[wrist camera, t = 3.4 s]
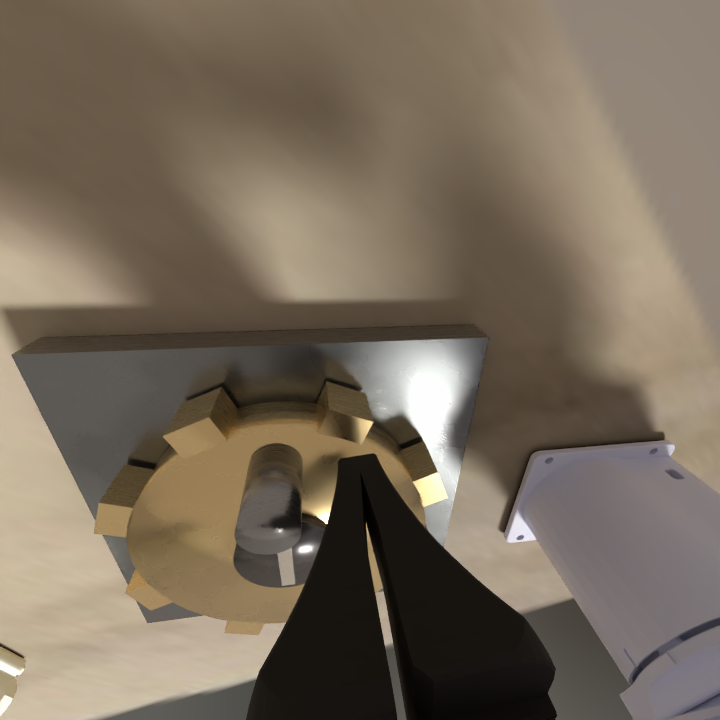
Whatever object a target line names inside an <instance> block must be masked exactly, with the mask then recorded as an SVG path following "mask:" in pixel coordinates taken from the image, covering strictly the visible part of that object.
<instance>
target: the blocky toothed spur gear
mask: <svg viewBox="0 0 720 720" xmlns="http://www.w3.org/2000/svg"><path fill="white" fill-rule="evenodd" d="M163 437H164V439H165V440H166V441H167V442H168V443H169V444H170V445H171V446H170V447H169V448H168V449H167V450H166V452H165V453H164V454H163V455H162V456H161V458H160V459H159V461H158V463H157V465H156V466H155V468H154V470H153V469H148V468H142V467H137V466H131V465H126V464H124V465H123V467H122V468H121V470H120V471H119V473H118V474H117V476H116V477H115V479H114V480H113V482H112V483H111V485H110V486H109V488H108V489H107V491H106V492H105V494H104V495H103V497H102V499H101V500H100V502H99V504H98V510H97V517H96V523H95V529H94V534H102V535H110V536H118V537H125V538H126V539H127V547H128V552H129V555H130V557H131V560H132V563H133V565H134V566H135V568H136V569H135V572H134V574H133V576H132V578H131V581H130V583H129V585H128V587H127V589H126V592H125V593H126V594H127V595H129V596H130V597H132V598H133V599H135V600H136V601H138V602H139V603H140V604H142V605H143V606H145V607H146V608H148V609H149V610H154V609H157V608H159V607H162V606H165V605H167V604H170V603H172V602H173V603H175V604H177V605H179V606H181V607H183V608H185V609H187V610H190V611H193V612H195V613H198V614H201V615H205V616H209V617H212V618H216V619H222V620H227V623H226V628H225V633H233V634H250V635H259V633H260V631H261V629H262V627H263V625H264V624H265V623H283V622H287V620H288V618H289V616H290V614H291V612H292V610H293V608H294V606H295V604H296V602H297V600H298V598H299V596H300V593H301V591H302V589H303V587H304V585H305V582H306V580H307V577H308V575H309V573H310V570H311V568H312V565H313V563H314V560H315V558H316V555H317V552H318V549H319V547H320V544H321V541H322V538H323V535H324V531H325V528H326V525H327V521H328V518H329V514H330V511H331V506H332V502H333V497H334V493H335V488H336V482H337V473H338V461H339V460H340V458H346V457H353V456H359V455H365V454H371V453H374V454H376V455H377V458H378V460H379V462H380V464H381V466H382V468H383V470H384V471H385V473H386V475H387V476H388V478H389V480H390V481H391V483H392V484H393V486H394V487H395V489H396V490H397V492H398V493H399V495H400V496H401V497H402V499H403V500H404V502H405V503H406V504H407V506H408V507H409V508H410V510H411V511H412V512H413V513H414V515H415V516H416V517H417V518H418V520H419V521H420V522H421V523H422V524H423V526H424V527H425V528H426V529H427V526H426V523H425V511H424V507H425V506H428V505H430V504H433V503H436V502H438V501H441V500H443V499H446V498H448V497H447V494H446V491H445V489H444V486H443V484H442V481H441V478H440V476H439V473H438V471H437V469H436V466H435V464H434V462H433V460H432V458H431V455H430V453H429V451H428V449H427V447H426V444H425V442H424V441H423V442H420V443H418V444H415V445H413V446H410V447H408V448H405V449H403V450H401V449H400V447H399V446H398V445H397V444H396V442H395V441H394V440H393V439H392V438H391V437H390V436H389V435H388V434H386V433H385V432H384V431H383V430H382V429H380V428H379V427H377V426H376V425H374V424H373V418H372V414H371V411H370V407H369V403H368V400H367V396H366V393H364V392H360V391H357V390H354V389H350V388H347V387H344V386H340V385H337V384H334V383H330V382H327V381H326V384H325V386H324V388H323V390H322V393H321V395H320V397H319V399H318V402H317V404H316V403H307V402H270V403H261V404H254V405H250V406H245V407H241V408H237V407H236V406H235V404H234V403H233V401H232V400H231V399H230V397H229V396H228V395H227V393H226V392H225V390H224V389H223V388H222V387H220V388H217V389H215V390H213V391H210V392H208V393H205V394H203V395H201V396H198V397H196V398H193V399H191V400H189V401H186V402H184V403H181V405H180V407H179V408H178V410H177V412H176V414H175V415H174V417H173V419H172V421H171V422H170V424H169V426H168V428H167V429H166V431H165V433H164V434H163ZM366 530H367V543H368V556H369V562H370V567H371V573H372V579H373V584H374V590H375V593H376V592H378V591H380V590H381V589H383V586H382V582H381V578H380V574H379V570H378V567H377V563H376V559H375V555H374V551H373V548H372V544H371V540H370V536H369V532H368V528H367V524H366ZM427 530H428V529H427Z"/></svg>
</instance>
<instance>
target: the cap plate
mask: <svg viewBox="0 0 720 720" xmlns="http://www.w3.org/2000/svg"><path fill="white" fill-rule="evenodd" d="M488 341H489V337H488V336H487V335H486V334H484V333H483V332H482V331H481V330H480V329H478V328H477V327H476V326H475V325H444V326H411V327H379V328H346V329H313V330H280V331H247V332H215V333H182V334H149V335H116V336H83V337H51V338H40V339H38V340H36V341H34V342H33V343H31V344H29V345H27V346H26V347H24V348H22V349H20V350H19V351H17V352H15V353H14V354H12V357H13V359H14V361H15V363H16V365H17V367H18V369H19V371H20V373H21V375H22V377H23V379H24V381H25V383H26V385H27V387H28V389H29V391H30V393H31V395H32V397H33V399H34V401H35V402H36V404H37V406H38V408H39V410H40V412H41V414H42V416H43V418H44V420H45V422H46V424H47V426H48V428H49V430H50V432H51V434H52V436H53V438H54V440H55V442H56V444H57V446H58V448H59V450H60V452H61V454H62V456H63V458H64V460H65V462H66V464H67V466H68V468H69V469H70V471H71V473H72V475H73V477H74V479H75V481H76V483H77V485H78V487H79V489H80V491H81V493H82V495H83V497H84V499H85V501H86V503H87V505H88V507H89V509H90V511H91V513H92V515H93V517H94V519H95V521H96V517H97V510H98V504H99V502H100V500H101V499H102V497H103V495H104V494H105V492H106V491H107V489H108V488H109V486H110V485H111V483H112V482H113V480H114V479H115V477H116V476H117V474H118V473H119V471H120V470H121V468H122V467H123V465H124V464H126V465H131V466H137V467H142V468H148V469H153V470H154V468H155V466H156V465H157V463H158V461H159V459H160V458H161V456H162V455H163V454H164V453H165V452H166V450H167V449H168V448H169V447H170V446H171V445H170V444H169V443H168V442H167V441H166V440H165V439H164V437H163V434H164V433H165V431H166V429H167V428H168V426H169V424H170V422H171V421H172V419H173V417H174V415H175V414H176V412H177V410H178V408H179V407H180V405H181V403H184V402H186V401H189V400H191V399H193V398H196V397H198V396H201V395H203V394H205V393H208V392H210V391H213V390H215V389H217V388H220V387H222V388H223V389H224V390H225V392H226V393H227V395H228V396H229V397H230V399H231V400H232V401H233V403H234V404H235V406H236V407H237V408H241V407H245V406H250V405H254V404H261V403H270V402H307V403H316V404H317V402H318V399H319V397H320V395H321V393H322V390H323V388H324V386H325V384H326V381H327V382H330V383H334V384H337V385H340V386H344V387H347V388H350V389H354V390H357V391H360V392H364V393H366V396H367V400H368V403H369V407H370V411H371V414H372V418H373V424H374V425H376V426H377V427H379V428H380V429H382V430H383V431H384V432H385V433H386V434H388V435H389V436H390V437H391V438H392V439H393V440H394V441H395V442H396V444H397V445H398V446H399V447H400V449H401V450H403V449H405V448H408V447H410V446H413V445H415V444H418V443H420V442H423V441H424V442H425V444H426V447H427V449H428V451H429V453H430V455H431V458H432V460H433V462H434V464H435V466H436V469H437V471H438V473H439V476H440V478H441V481H442V484H443V486H444V489H445V491H446V494H447V497H448V498H446V499H443V500H441V501H438V502H436V503H433V504H430V505H428V506H425V507H424V511H425V523H426V526H427V529H428V531H429V533H430V534H431V535H432V536H433V537H434V538H435V539H436V540H437V541H438V542H439V543H440V544H441V545H442V546H443V547H444V543H445V539H446V534H447V530H448V525H449V520H450V516H451V511H452V506H453V502H454V497H455V493H456V488H457V483H458V479H459V474H460V470H461V465H462V460H463V456H464V451H465V447H466V442H467V437H468V433H469V428H470V423H471V419H472V414H473V410H474V405H475V400H476V396H477V391H478V387H479V382H480V377H481V373H482V368H483V364H484V359H485V354H486V350H487V345H488ZM103 536H104V538H105V540H106V542H107V544H108V546H109V548H110V550H111V552H112V554H113V556H114V558H115V560H116V562H117V564H118V566H119V568H120V570H121V572H122V574H123V576H124V578H125V580H126V582H127V584H128V585H129V583H130V581H131V578H132V576H133V574H134V572H135V569H136V568H135V566H134V565H133V563H132V560H131V557H130V555H129V552H128V547H127V539H126V538H125V537H118V536H110V535H103ZM381 591H384V590H383V589H381V590H380V591H378V592H381ZM137 603H138V605H139V607H140V609H141V611H142V613H143V615H144V617H145V619H146V621H147V623H152V622H159V621H166V620H174V619H181V618H189V617H196V616H203V615H201V614H198V613H195V612H193V611H190V610H187V609H185V608H183V607H181V606H179V605H177V604H175V603H173V602H172V603H170V604H167V605H165V606H162V607H159V608H157V609H154V610H149V609H148V608H146V607H145V606H143V605H142V604H140V603H139V602H138V601H137Z"/></svg>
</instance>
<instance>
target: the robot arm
mask: <svg viewBox="0 0 720 720" xmlns="http://www.w3.org/2000/svg"><path fill="white" fill-rule="evenodd" d="M674 449H675V445H674V444H673V443H671V442H670V441H669V440H662V441H651V442H639V443H627V444H615V445H603V446H592V447H580V448H568V449H556V450H544V451H537V452H535V453H533V454H532V455H531V457H530V459H529V462H528V465H527V468H526V471H525V474H524V477H523V480H522V483H521V486H520V489H519V492H518V495H517V498H516V501H515V504H514V507H513V510H512V512H511V515H510V518H509V521H508V524H507V527H506V530H505V533H504V537H505V539H506V541H507V542H509V543H514V542H522V541H530V540H537V541H538V543H539V544H540V546H541V547H542V549H543V550H544V552H545V554H546V555H547V557H548V558H549V560H550V561H551V563H552V564H553V566H554V568H555V569H556V571H557V572H558V574H559V575H560V577H561V578H562V580H563V582H564V583H565V585H566V586H567V588H568V589H569V591H570V592H571V594H572V596H573V597H574V599H575V600H576V602H577V603H578V605H579V606H580V608H581V610H582V611H583V613H584V614H585V616H586V617H587V619H588V620H589V622H590V624H591V625H592V627H593V628H594V630H595V631H596V633H597V634H598V636H599V637H600V639H601V641H602V642H603V644H604V645H605V647H606V648H607V650H608V651H609V653H610V654H611V656H612V658H613V659H614V661H615V662H616V664H617V666H618V667H619V669H620V670H621V672H622V673H623V675H624V676H625V678H626V680H627V681H628V683H629V684H630V685H631V687H629V688H628V689H627V690H626V691H624V692H623V693H621V694H620V697H621V699H622V700H623V702H624V703H625V705H626V707H627V709H628V710H629V712H630V714H631V715H632V717H633V718H634V719H633V720H720V494H719V493H717V492H716V491H715V490H713V489H712V488H711V487H709V486H708V485H707V484H705V483H704V482H703V481H701V480H700V479H699V478H697V477H696V476H695V475H693V474H692V473H691V472H689V471H688V470H687V469H685V468H684V467H683V466H682V465H680V464H679V463H678V462H676V461H675V460H674V459H672V458H671V457H670V456H671V454H672V452H673V451H674ZM366 524H367V528H368V532H369V536H370V540H371V544H372V548H373V551H374V555H375V559H376V563H377V567H378V570H379V574H380V578H381V582H382V586H383V590H384V595H385V599H386V605H387V610H388V616H389V622H390V627H391V633H392V638H393V644H394V650H395V655H396V661H397V667H398V673H399V678H400V684H401V690H402V696H403V701H404V707H405V713H406V719H407V720H555V718H556V717H557V714H556V710H555V708H554V706H553V704H552V702H551V700H550V698H549V695H548V691H549V688H550V686H551V684H552V682H553V680H554V675H555V669H556V668H555V666H554V665H553V662H552V660H551V658H550V656H549V654H548V652H547V650H546V649H545V647H544V645H543V644H542V642H541V641H540V639H539V638H538V636H537V635H536V633H535V631H534V630H533V629H532V627H531V626H530V624H529V623H528V622H527V620H526V619H525V618H524V617H523V616H522V615H521V614H519V613H518V612H517V611H515V610H514V609H513V608H511V607H510V606H509V605H508V604H506V603H505V602H504V601H503V600H501V599H500V598H499V597H498V596H496V595H495V594H494V593H493V592H491V591H490V590H489V589H488V588H487V587H486V586H484V585H483V584H482V583H481V582H480V581H478V580H477V579H476V578H475V577H474V576H473V575H472V574H471V573H470V572H469V571H467V570H466V569H465V568H464V567H463V566H462V565H461V564H460V563H459V562H458V561H457V560H456V559H455V558H453V557H452V556H451V555H450V554H449V553H448V552H447V551H446V550H445V549H444V547H443V546H442V545H441V544H440V543H439V542H438V541H437V540H436V539H435V538H434V537H433V536H432V535H431V534H430V533H429V531H428V530H427V529H426V528H425V527H424V526H423V524H422V523H421V522H420V521H419V520H418V518H417V517H416V516H415V515H414V513H413V512H412V511H411V510H410V508H409V507H408V506H407V504H406V503H405V502H404V500H403V499H402V497H401V496H400V495H399V493H398V492H397V490H396V489H395V487H394V486H393V484H392V483H391V481H390V480H389V478H388V476H387V475H386V473H385V471H384V470H383V468H382V466H381V464H380V462H379V460H378V458H377V455H376V454H374V453H371V454H365V455H359V456H353V457H346V458H340V460H339V461H338V473H337V482H336V488H335V493H334V497H333V502H332V506H331V511H330V514H329V518H328V521H327V525H326V528H325V531H324V535H323V538H322V541H321V544H320V547H319V549H318V552H317V555H316V558H315V560H314V563H313V565H312V568H311V570H310V573H309V575H308V577H307V580H306V582H305V585H304V587H303V589H302V591H301V593H300V596H299V598H298V600H297V602H296V604H295V606H294V608H293V610H292V612H291V614H290V616H289V618H288V620H287V622H286V624H285V626H284V628H283V630H282V632H281V634H280V636H279V637H278V639H277V641H276V643H275V645H274V646H273V648H272V650H271V652H270V653H269V655H268V657H267V659H266V660H265V662H264V664H263V666H262V668H261V669H260V671H259V674H258V677H257V680H256V683H255V687H254V690H253V694H252V697H251V701H250V704H249V708H248V713H247V718H246V720H397V713H396V707H395V701H394V695H393V689H392V683H391V677H390V672H389V666H388V661H387V656H386V650H385V645H384V640H383V634H382V629H381V623H380V618H379V612H378V607H377V601H376V596H375V590H374V584H373V579H372V573H371V567H370V562H369V556H368V543H367V530H366Z"/></svg>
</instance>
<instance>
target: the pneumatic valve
mask: <svg viewBox="0 0 720 720" xmlns="http://www.w3.org/2000/svg"><path fill="white" fill-rule="evenodd" d="M25 662H26V660H25V659H23V658H21V657H20V656H18V655H16V654H14V653H12V652H10V651H8V650H7V649H5V648H3V647H1V646H0V716H1V714H2V713H3V712H4V711H5V710H6V709H7V707H8V706H9V704H10V703H11V701H12V700H13V698H14V696H15V693H16V690H17V681H16V679H14V677H15V676H18V675H20V674H21V673H22V672H23V671H24V669H25Z"/></svg>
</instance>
